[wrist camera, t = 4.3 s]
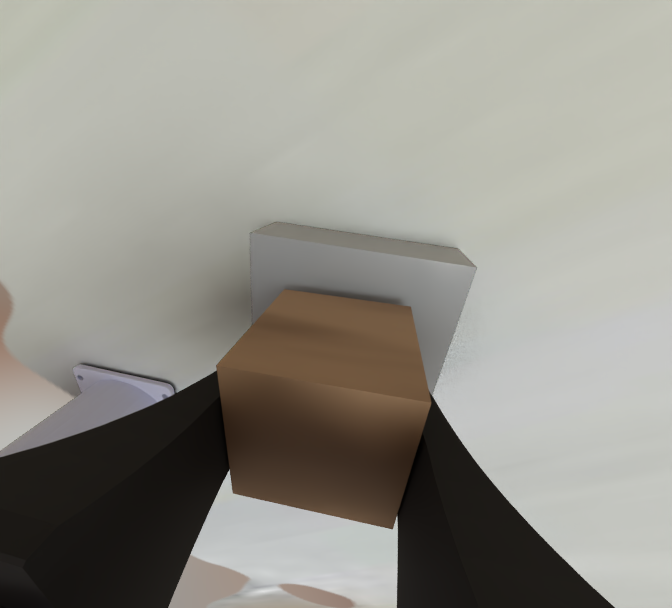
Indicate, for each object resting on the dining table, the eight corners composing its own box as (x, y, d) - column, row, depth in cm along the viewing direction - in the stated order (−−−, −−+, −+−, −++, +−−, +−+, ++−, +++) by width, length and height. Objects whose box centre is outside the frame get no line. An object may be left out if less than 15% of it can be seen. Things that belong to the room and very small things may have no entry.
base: (413, 392, 17) (418, 433, 14) (273, 363, 18) (253, 397, 15) (458, 248, 13) (477, 267, 10) (276, 222, 14) (249, 232, 11)
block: (389, 404, 13) (392, 529, 8) (284, 385, 13) (233, 493, 9) (410, 306, 10) (430, 403, 6) (284, 289, 11) (216, 365, 7)
